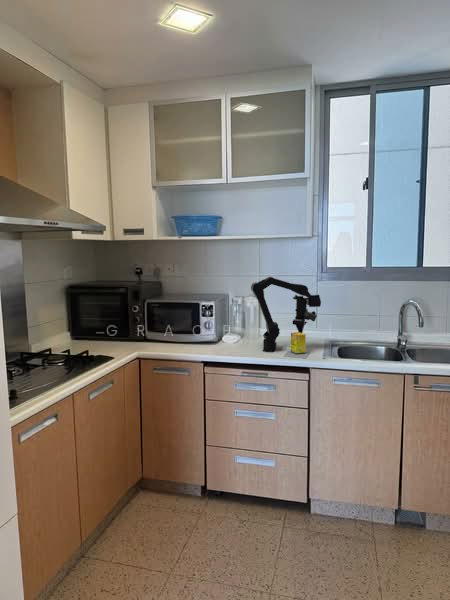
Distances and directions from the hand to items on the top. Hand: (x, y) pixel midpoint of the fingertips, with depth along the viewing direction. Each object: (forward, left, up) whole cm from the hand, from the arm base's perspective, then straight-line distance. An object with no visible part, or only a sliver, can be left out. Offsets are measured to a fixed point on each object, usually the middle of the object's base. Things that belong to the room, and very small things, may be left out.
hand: (300, 334), depth 229 cm
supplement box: (0, -9, -8) cm, 12 cm away
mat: (0, -12, -8) cm, 15 cm away
